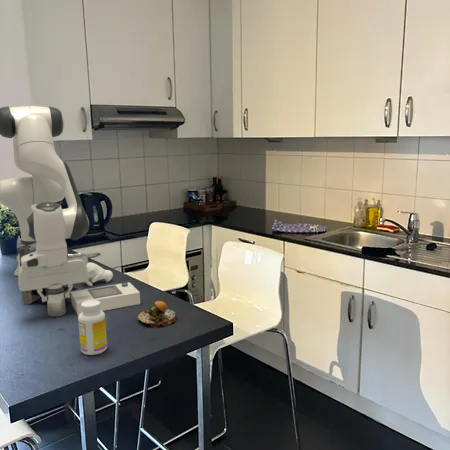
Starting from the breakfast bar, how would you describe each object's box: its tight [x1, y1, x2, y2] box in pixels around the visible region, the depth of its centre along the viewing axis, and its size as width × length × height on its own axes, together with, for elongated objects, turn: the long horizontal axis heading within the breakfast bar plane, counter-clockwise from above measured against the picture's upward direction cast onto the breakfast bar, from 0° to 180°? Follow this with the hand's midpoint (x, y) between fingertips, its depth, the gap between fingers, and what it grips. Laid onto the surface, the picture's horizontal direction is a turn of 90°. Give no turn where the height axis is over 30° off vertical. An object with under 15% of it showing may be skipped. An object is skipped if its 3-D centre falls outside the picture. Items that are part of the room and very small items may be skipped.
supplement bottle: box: [77, 300, 108, 356], centre depth 116 cm, size 7×7×13 cm
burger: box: [136, 300, 177, 329], centre depth 136 cm, size 12×12×8 cm
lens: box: [45, 284, 67, 318], centre depth 141 cm, size 6×6×10 cm
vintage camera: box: [18, 242, 78, 305], centre depth 151 cm, size 10×16×20 cm, turn 79°
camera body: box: [70, 282, 141, 316], centre depth 150 cm, size 12×20×5 cm, turn 118°
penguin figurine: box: [85, 261, 114, 287], centre depth 171 cm, size 6×8×12 cm
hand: (55, 299), depth 141 cm, fingers closed on lens, 5 cm apart
